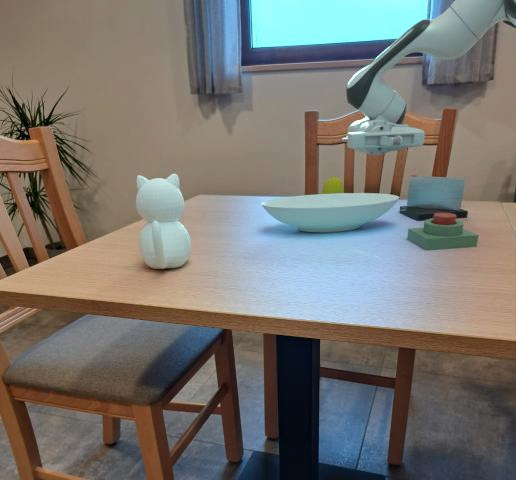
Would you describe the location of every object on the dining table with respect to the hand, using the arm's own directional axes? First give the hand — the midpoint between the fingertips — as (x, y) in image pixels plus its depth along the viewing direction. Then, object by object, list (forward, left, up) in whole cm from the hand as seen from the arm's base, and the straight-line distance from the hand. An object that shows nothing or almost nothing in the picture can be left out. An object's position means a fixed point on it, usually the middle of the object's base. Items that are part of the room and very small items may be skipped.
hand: (396, 141), depth 116 cm
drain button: (+6, +38, -12) cm, 40 cm away
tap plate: (-4, +15, -15) cm, 22 cm away
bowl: (+23, +21, -16) cm, 35 cm away
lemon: (+16, 0, -16) cm, 22 cm away
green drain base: (+6, +38, -15) cm, 42 cm away
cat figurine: (+58, +39, -16) cm, 72 cm away
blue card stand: (-4, +15, -14) cm, 21 cm away
